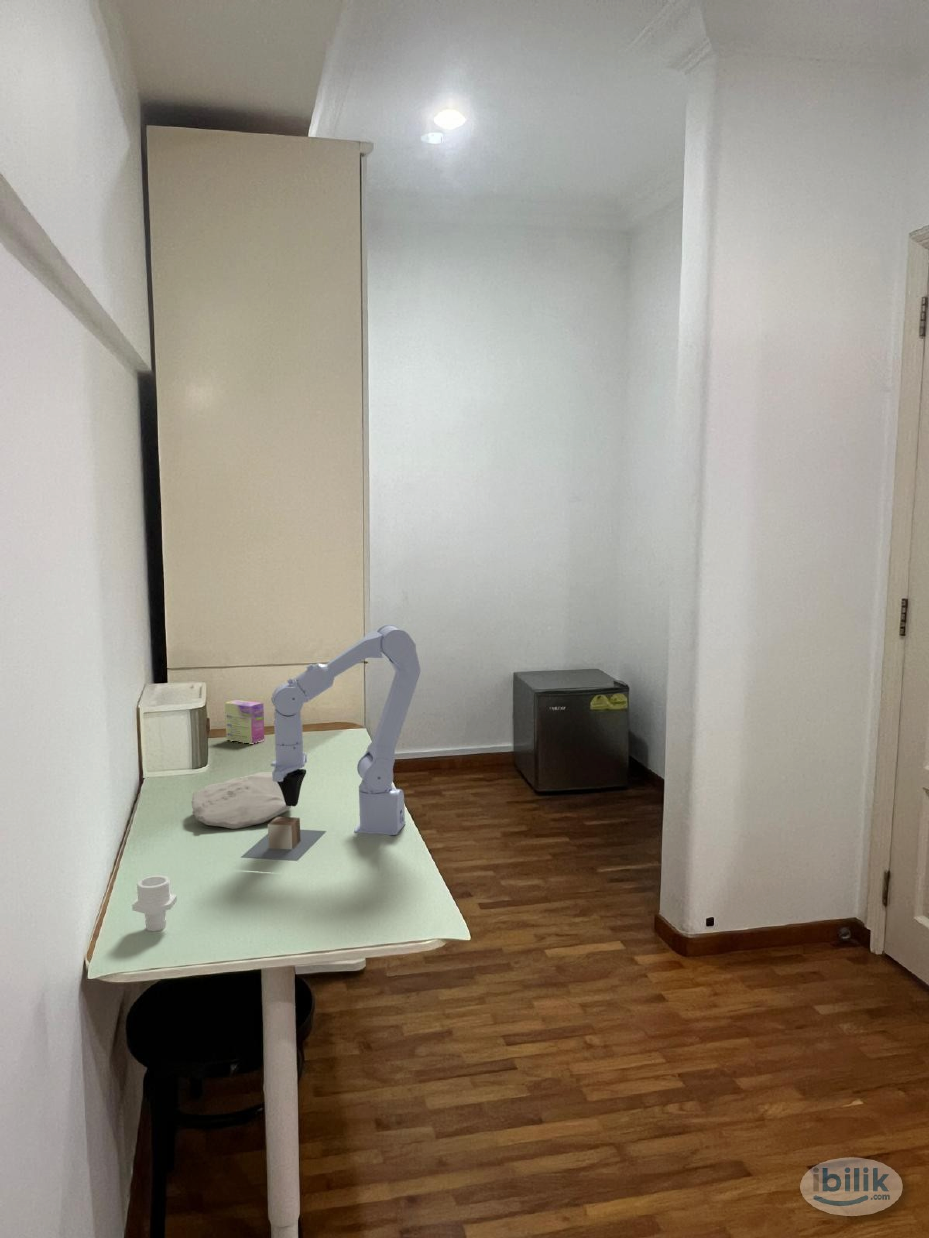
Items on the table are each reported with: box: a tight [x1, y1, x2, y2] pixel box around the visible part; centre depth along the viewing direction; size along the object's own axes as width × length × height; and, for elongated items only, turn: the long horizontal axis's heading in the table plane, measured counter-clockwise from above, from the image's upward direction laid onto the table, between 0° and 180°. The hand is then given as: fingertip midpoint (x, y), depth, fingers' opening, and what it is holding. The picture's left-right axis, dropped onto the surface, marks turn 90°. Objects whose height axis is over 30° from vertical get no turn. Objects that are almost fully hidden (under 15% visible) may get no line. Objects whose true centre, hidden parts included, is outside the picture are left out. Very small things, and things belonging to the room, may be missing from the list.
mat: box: [240, 829, 327, 862], centre depth 194 cm, size 12×17×1 cm
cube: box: [267, 816, 301, 850], centre depth 194 cm, size 5×5×5 cm
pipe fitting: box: [131, 875, 178, 932], centre depth 157 cm, size 6×7×8 cm
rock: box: [191, 771, 292, 830], centre depth 218 cm, size 8×23×30 cm
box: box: [224, 699, 265, 744], centre depth 281 cm, size 10×6×12 cm, turn 60°
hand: (291, 805), depth 198 cm, fingers closed
